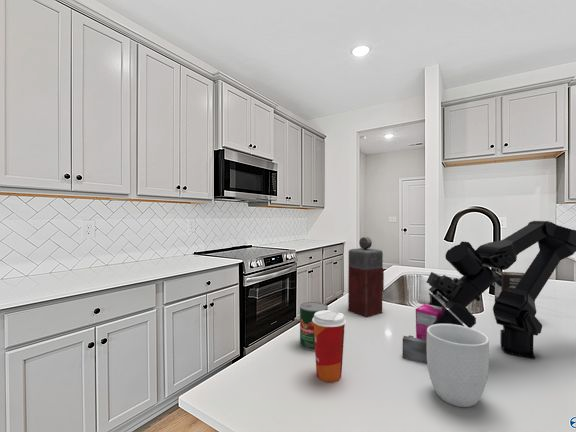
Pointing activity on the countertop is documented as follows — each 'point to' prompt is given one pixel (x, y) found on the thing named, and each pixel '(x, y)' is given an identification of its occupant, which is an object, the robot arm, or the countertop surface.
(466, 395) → the mug
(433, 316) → the supplement box
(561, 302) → the countertop surface
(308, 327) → the canned tomato
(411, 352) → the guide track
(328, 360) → the paper cup
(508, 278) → the coffee box
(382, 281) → the pepper mill
